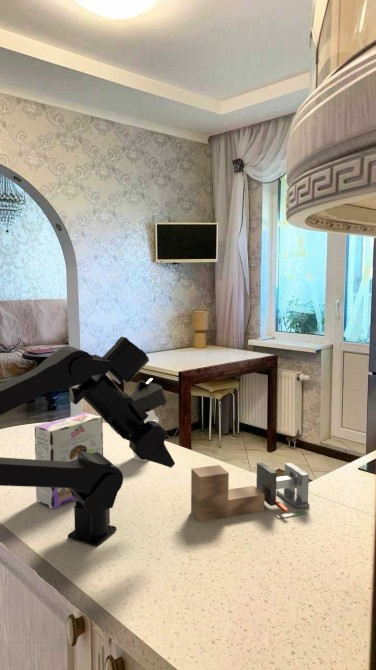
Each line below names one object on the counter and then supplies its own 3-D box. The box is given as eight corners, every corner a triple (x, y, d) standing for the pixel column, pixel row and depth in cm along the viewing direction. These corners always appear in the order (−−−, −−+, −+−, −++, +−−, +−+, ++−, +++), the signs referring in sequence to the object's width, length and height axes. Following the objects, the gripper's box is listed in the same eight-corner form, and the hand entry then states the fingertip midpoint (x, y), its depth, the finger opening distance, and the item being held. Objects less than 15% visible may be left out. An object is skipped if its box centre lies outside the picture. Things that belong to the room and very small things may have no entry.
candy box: (87, 481, 115) (86, 411, 113) (104, 488, 111) (103, 415, 109) (35, 501, 104) (33, 424, 103) (52, 510, 101) (50, 430, 99)
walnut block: (199, 522, 96) (199, 477, 95) (191, 511, 100) (191, 468, 99) (264, 510, 101) (265, 467, 100) (253, 501, 105) (254, 460, 104)
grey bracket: (279, 513, 97) (280, 479, 96) (256, 493, 106) (256, 462, 105) (316, 507, 100) (317, 474, 99) (290, 488, 109) (291, 458, 108)
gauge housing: (278, 518, 98) (279, 485, 97) (253, 497, 107) (254, 466, 106) (315, 512, 101) (316, 479, 100) (288, 491, 110) (289, 461, 109)
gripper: (158, 379, 83) (214, 440, 88) (127, 362, 100) (176, 414, 106) (109, 428, 81) (170, 488, 86) (86, 402, 98) (138, 453, 103)
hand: (164, 457), depth 95 cm, fingers open, 9 cm apart
